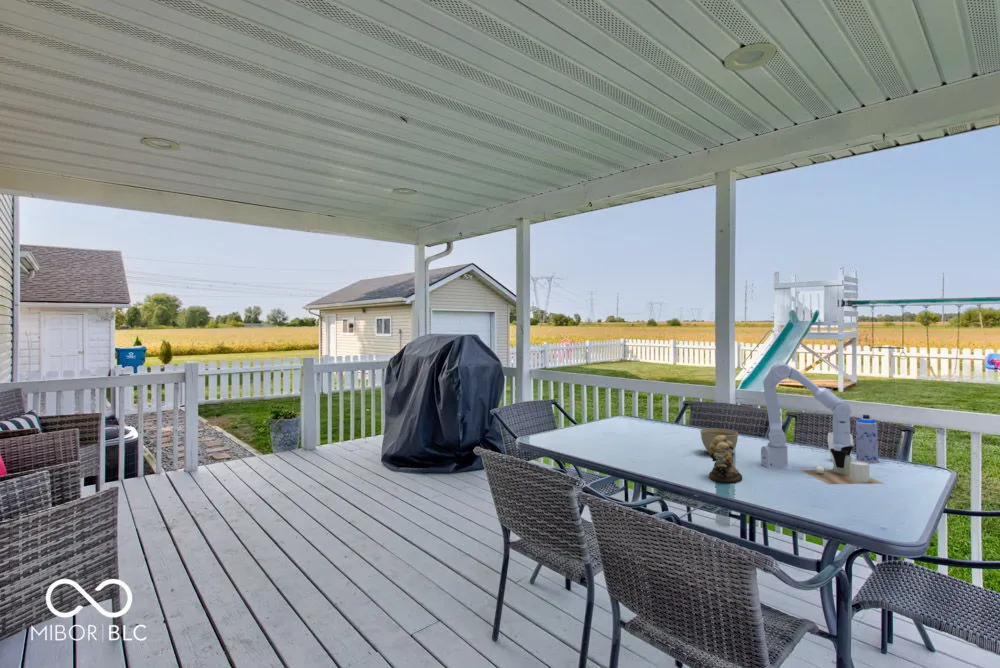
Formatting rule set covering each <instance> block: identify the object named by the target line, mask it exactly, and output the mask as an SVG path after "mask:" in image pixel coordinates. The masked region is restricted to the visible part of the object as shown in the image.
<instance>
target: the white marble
mask: <svg viewBox="0 0 1000 668" xmlns="http://www.w3.org/2000/svg"><path fill="white" fill-rule="evenodd" d="M815 470H816V472H817V473H819V474H823V473H824V472H825V470H826V469H825V468H824V466H822V465H817V466H816V467H815Z"/></svg>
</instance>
